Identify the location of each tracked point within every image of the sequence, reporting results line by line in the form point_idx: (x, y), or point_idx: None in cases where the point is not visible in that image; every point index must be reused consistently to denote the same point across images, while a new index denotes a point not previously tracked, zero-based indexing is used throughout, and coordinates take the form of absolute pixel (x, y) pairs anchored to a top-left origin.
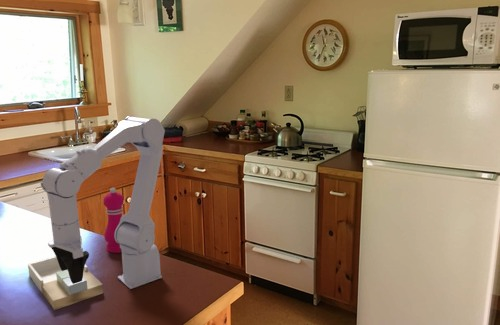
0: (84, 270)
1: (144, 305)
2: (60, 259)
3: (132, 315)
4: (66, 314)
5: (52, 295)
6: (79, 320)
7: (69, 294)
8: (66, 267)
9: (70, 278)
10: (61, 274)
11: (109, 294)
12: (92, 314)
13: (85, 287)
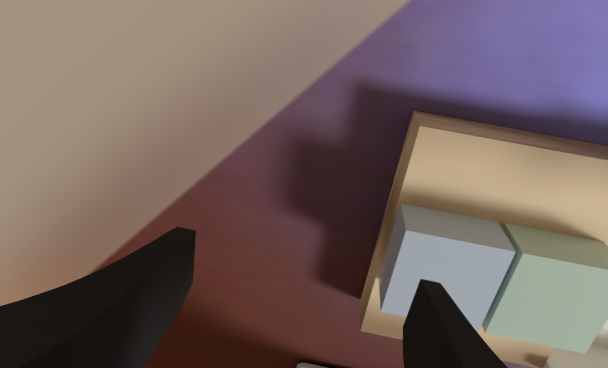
0: (562, 359)
1: (171, 324)
2: (444, 358)
3: None
4: (333, 128)
5: (478, 150)
6: (245, 140)
7: (400, 206)
8: (412, 318)
9: (165, 243)
10: (573, 277)
11: (332, 306)
12: (248, 194)
13: (381, 278)
